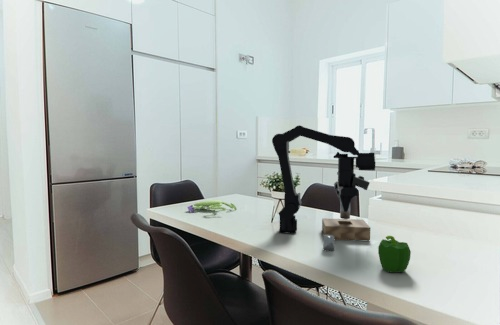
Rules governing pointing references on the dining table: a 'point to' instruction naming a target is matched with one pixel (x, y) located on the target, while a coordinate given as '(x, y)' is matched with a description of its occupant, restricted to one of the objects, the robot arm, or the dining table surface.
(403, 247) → the bell pepper
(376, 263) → the dining table surface
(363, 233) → the walnut hole block
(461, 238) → the dining table surface
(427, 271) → the dining table surface
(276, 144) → the robot arm
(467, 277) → the dining table surface
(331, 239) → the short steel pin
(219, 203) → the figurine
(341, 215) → the tall steel pin
